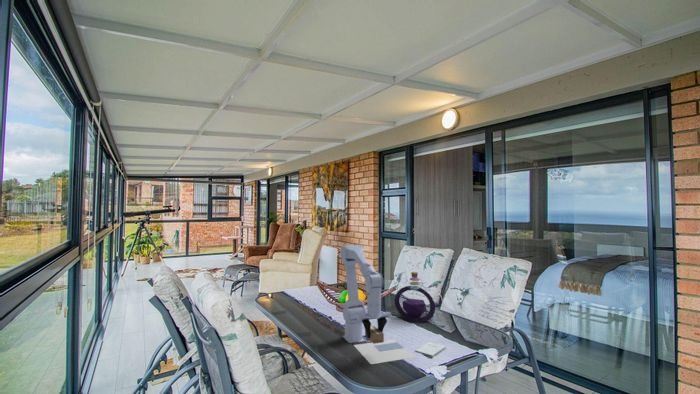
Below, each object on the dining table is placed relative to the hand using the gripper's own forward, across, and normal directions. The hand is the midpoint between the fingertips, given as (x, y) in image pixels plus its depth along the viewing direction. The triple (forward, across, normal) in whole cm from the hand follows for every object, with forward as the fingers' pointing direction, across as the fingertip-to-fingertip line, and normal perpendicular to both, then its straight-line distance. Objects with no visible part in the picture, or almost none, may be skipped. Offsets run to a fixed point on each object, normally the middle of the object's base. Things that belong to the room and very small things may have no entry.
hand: (374, 336), depth 149 cm
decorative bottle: (+9, +42, +41) cm, 59 cm away
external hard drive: (+10, +26, -1) cm, 28 cm away
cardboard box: (+1, 0, 0) cm, 1 cm away
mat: (+9, +6, +4) cm, 11 cm away
